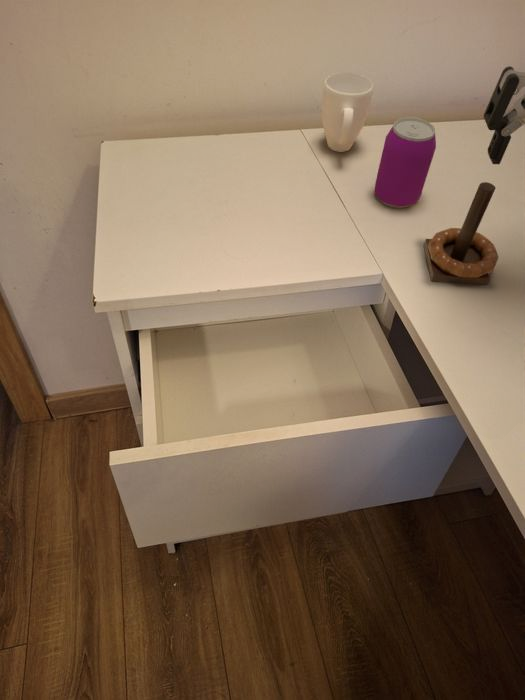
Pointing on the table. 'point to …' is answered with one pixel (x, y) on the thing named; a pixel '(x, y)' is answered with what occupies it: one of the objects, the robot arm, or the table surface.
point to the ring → (456, 266)
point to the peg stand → (464, 241)
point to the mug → (345, 108)
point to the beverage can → (405, 162)
